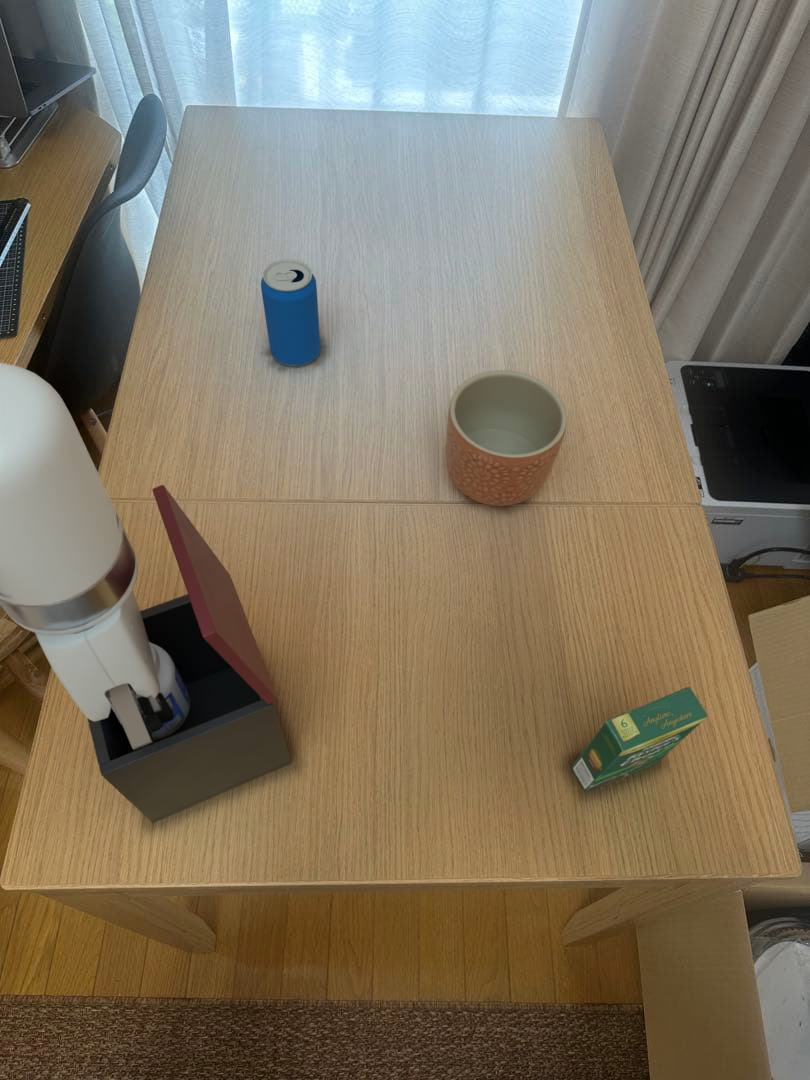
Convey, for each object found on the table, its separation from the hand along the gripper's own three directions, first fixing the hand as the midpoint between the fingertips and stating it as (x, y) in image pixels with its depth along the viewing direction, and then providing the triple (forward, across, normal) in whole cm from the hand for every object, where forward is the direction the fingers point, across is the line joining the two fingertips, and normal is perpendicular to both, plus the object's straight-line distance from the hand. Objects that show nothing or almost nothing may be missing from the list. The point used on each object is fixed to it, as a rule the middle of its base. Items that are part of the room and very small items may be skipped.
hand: (141, 686), depth 56 cm
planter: (+13, -16, +42) cm, 46 cm away
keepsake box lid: (-8, 0, +7) cm, 11 cm away
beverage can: (+14, -44, +28) cm, 54 cm away
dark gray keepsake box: (+14, 0, +2) cm, 14 cm away
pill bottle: (+5, 0, 0) cm, 5 cm away
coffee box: (+14, +18, +36) cm, 42 cm away
